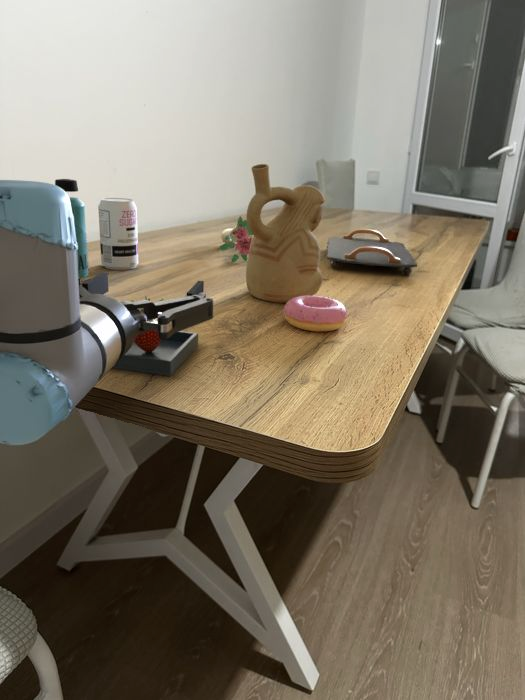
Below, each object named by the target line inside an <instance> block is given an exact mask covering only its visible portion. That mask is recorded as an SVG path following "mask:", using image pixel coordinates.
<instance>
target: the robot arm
mask: <svg viewBox="0 0 525 700" xmlns="http://www.w3.org/2000/svg"><path fill="white" fill-rule="evenodd" d="M69 197H70V196H69V194H68V192H65V191H64V190H63V189H62V188H60V187H58V186H56V185H55V184H54V183H49V182H43V181H36V180H35V181H34V180H21V179H20V180H18V179H0V444H3V445H9V446H23V445H28V444H31V443H34V442H36V441H38V440H40V439H41V438H43V437H44V436H45V435H46V434H48V433H49V432H50V431H51V430H52V429H54V428H55V427H56V426H57V425H58V424H60V423H62V422H64V421H65V420H66V419H67V418H68V417H69V416H70V413H71V411H72V410H74V408H75V407H76V406H77V405H78V404H79V403H80V402H81V401H82V400H83V399H84V398H85V396H86V395H88V393H89V392H90V391H91V390H92V389H93V388H94V387H95V386H96V385H97V384H98V382H99V381H100V380H102V379H103V377H104V376H105V375H106V374H107V373H108V372H109V371H110V370H111V369H113V368H112V367H113V366H114V365H115V364H116V363H117V362H118V361H119V360H120V359H121V358H122V357H123V356H124V355H125V354H126V353H127V352H128V351H129V349H130V348H131V346H132V345H133V343H134V341H135V338H136V336H138V335H140V334H143V333H145V332H146V331H157V332H158V338H159V339H168V338H169V337H170V336H172V335H173V334H174V333H176V332H179V331H184V330H187V329H189V328H192V327H194V326H197V325H200V324H202V323H205V322H208V321H210V320H213V319H214V299H213V298H212V297H207V294H206V292H204V286H205V285H204V284H205V283H204V282H205V281H204V280H197V281H196V283H194V285H193V286H192V287H191V288H190V289H189V290H188V291H187V292H186V296H182V297H181V296H180V297H176V298H170V299H165V300H164V299H163V301H160V300H159V302H158V301H154V302H153V301H151V300H150V301H148V299H147V300H145V299H142V300H134V301H135V302H132V301H128V300H123V301H119V300H118V299H116V298H115V297H112V296H110V295H107V293H108V292H109V272H107V271H101V272H99V273H98V274H96V275H94V276H92V277H90V278H89V279H87V280H85V281H83V282H81V278H78V255H77V250H78V244H77V242H76V234H75V226H74V217H73V214H72V208H71V202H70V199H69ZM140 308H143V309H144V313H143V312H142V311H141V310H140Z"/></svg>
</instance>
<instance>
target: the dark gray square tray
mask: <svg viewBox="0 0 525 700" xmlns="http://www.w3.org/2000/svg"><path fill="white" fill-rule="evenodd" d="M198 347H199V333H198V332H192V331H184V330H181V331H179V332H176V333H174V334H173V335H172V336H170V337H169V338H168V339H161V341H160V343H159V345H158V346H157V348H156V349H155V350H154V351H152V352H146V351H143V350H142V349H140V348H139V347H138V346H137V345H136V344H135V343H133V345H132V346H131V348H130V349H129V351H128V352H127V353H126V354H125V355H124V356H123V357H122V358H121V359H120V360H119V361H118V362H117V363H116V364H115V365H114V366H113V367H112V368H111V369H116V370H117V369H118V370H123V371H130V372H131V371H132V372H137V373H138V372H139V373H144V374H152V375H159V376H164V377H165V376H166V377H171V376H172V375H173V374H174V373H175V372H176V371H177V370H178V369H179V368H180V367H181V365H182V364H183V363H184V362H185V361H186V360H187V359H188V358H189V357H190V356H191V355H192V354H193V352H194V351H195V350H196V349H197V348H198Z"/></svg>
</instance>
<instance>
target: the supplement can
mask: <svg viewBox="0 0 525 700" xmlns="http://www.w3.org/2000/svg"><path fill="white" fill-rule="evenodd" d="M97 207H98V208H97V209H98V227H99V229H98V230H99V244H100V246H99V247H100V263H101V265H102V266H103V267H104V268H105V269H107V270H113V271H114V270H115V271H126V270H133V269H135V268H136V267H137V266H138V264H139V241H138V239H139V238H138V237H139V236H138V207H137V205H136V203H135V200H134V199H131V198H126V197H125V198H123V197H103V198H100V202H99V204H98V206H97Z"/></svg>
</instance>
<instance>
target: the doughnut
mask: <svg viewBox="0 0 525 700" xmlns="http://www.w3.org/2000/svg"><path fill="white" fill-rule="evenodd" d="M283 314H284V318H285V320H286V321H287V323H288V324H290V325H291V326H293V327H295V328H297V329H300V330H304V331H309V332H331V331H335V330H337V329H339V328H341V327H342V326H343V325H345V323H346V321H347V318H348V312H347V308H346V307H345V305H344V304H343V303H342V302H340V301H338V300H336V299H334V298H330V297H329V296H328V297H326V296H320V295H313V296H298V297H295V298H292V299H291V300H288V301H287V303H285V305H284V306H283Z"/></svg>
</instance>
